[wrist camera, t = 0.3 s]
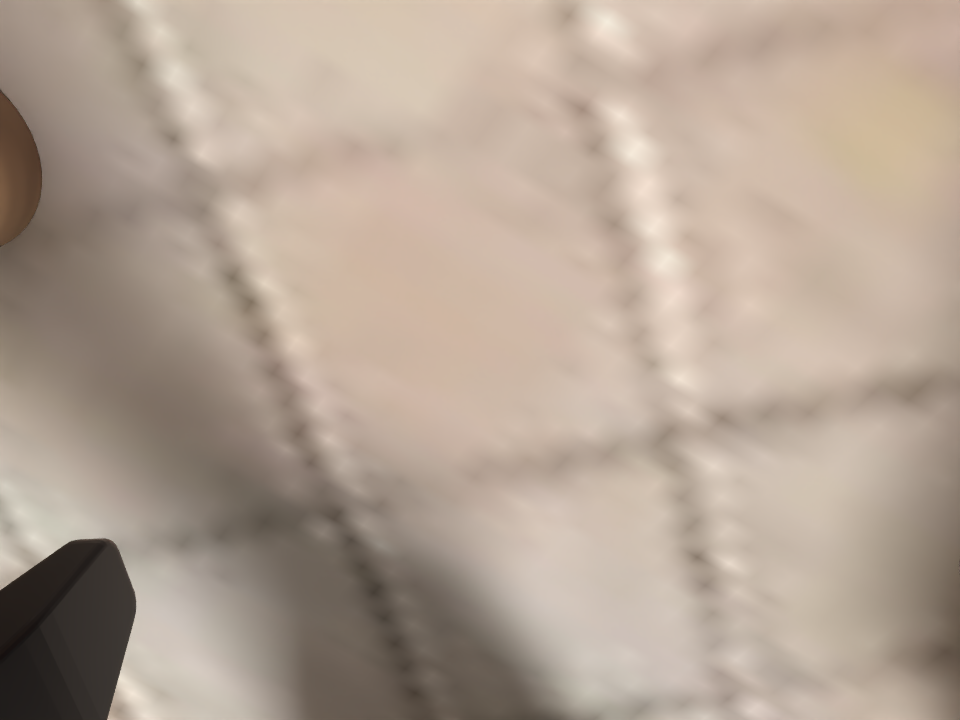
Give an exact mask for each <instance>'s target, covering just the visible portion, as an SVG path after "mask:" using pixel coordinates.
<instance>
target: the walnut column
mask: <svg viewBox="0 0 960 720" xmlns="http://www.w3.org/2000/svg"><path fill="white" fill-rule="evenodd" d="M41 187H42V171H41V164H40V158H39V154H38V151H37V147H36V144H35V142H34V139H33V137H32V134H31V132H30V130H29V129H28V127H27V125H26V123H25V121H24V120H23V118H22V117H21V115H20V114H19V112H18V111H17V109H16V108H15V107H14V106H13V105H12V103H11V102H10V101H9V100H8V99H7V97H6V96H4V95H3V94H2V93H1V92H0V246H2V245H4V244H6V243H7V242H9V241H11V240H12V239H14V238H15V237H16V236H18V235H19V234H20V233H21V232H22V231H23V230H24V229H25V228H26V227H27V225H28V224H29V222H30V221H31V219H32V218H33V216H34V213H35V211H36V209H37V206H38V203H39V199H40V195H41Z"/></svg>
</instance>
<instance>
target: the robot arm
mask: <svg viewBox="0 0 960 720" xmlns="http://www.w3.org/2000/svg"><path fill="white" fill-rule="evenodd" d="M959 572H960V562H959ZM135 614H136V597H135V592H134V589H133V587H132V584H131V581H130V579H129V576H128V573H127V571H126V568H125V565H124V563H123V560H122V557H121V555H120V552H119V550H118V548H117V546H116V544H115V543H114V542H113V541H111V540H109V539H105V538H103V539H80V540H74V541H71V542H69V543H67V544H66V545H64V546H63V547H61V548H60V549H58V550H57V551H56V552H54V553H53V554H51V555H50V556H48V557H47V558H46V559H44V560H43V561H41V562H40V563H38V564H37V565H36V566H34V567H33V568H31V569H30V570H28V571H27V572H26V573H24V574H23V575H21V576H20V577H19V578H17V579H16V580H14V581H13V582H11V583H10V584H9V585H7V586H6V587H4V588H3V589H1V590H0V720H107V718H108V714H109V711H110V707H111V703H112V700H113V696H114V692H115V689H116V685H117V681H118V678H119V674H120V670H121V666H122V663H123V659H124V655H125V652H126V648H127V644H128V641H129V637H130V633H131V630H132V626H133V622H134V618H135Z"/></svg>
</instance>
